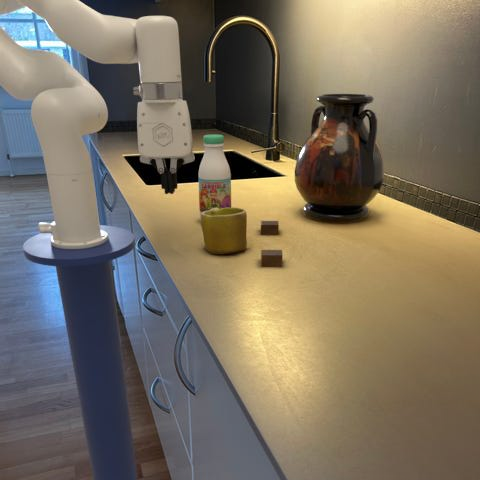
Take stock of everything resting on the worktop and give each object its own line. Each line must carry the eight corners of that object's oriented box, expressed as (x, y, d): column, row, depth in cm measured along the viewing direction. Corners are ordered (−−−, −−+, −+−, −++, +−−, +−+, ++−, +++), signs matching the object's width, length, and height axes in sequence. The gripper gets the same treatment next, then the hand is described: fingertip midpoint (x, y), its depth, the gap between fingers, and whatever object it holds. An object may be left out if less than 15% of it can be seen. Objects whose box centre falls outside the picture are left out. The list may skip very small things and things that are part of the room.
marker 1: (260, 234, 116) (260, 224, 114) (260, 230, 118) (260, 220, 117) (278, 234, 115) (278, 224, 114) (277, 230, 118) (278, 220, 117)
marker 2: (261, 266, 98) (261, 254, 97) (261, 261, 100) (261, 249, 99) (282, 266, 98) (282, 255, 97) (281, 261, 100) (281, 249, 99)
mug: (260, 247, 102) (243, 199, 99) (212, 265, 102) (194, 217, 99) (252, 240, 114) (237, 196, 111) (209, 256, 113) (192, 213, 110)
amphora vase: (396, 217, 128) (413, 95, 115) (339, 233, 116) (350, 100, 103) (332, 200, 143) (340, 91, 130) (275, 213, 131) (278, 95, 118)
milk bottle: (197, 217, 128) (194, 133, 119) (228, 216, 129) (227, 132, 120) (202, 226, 121) (199, 138, 112) (234, 224, 123) (233, 137, 113)
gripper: (117, 95, 92) (129, 197, 100) (200, 93, 91) (205, 196, 100) (126, 93, 99) (137, 188, 107) (204, 91, 98) (208, 188, 106)
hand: (170, 192), depth 103 cm, fingers closed
